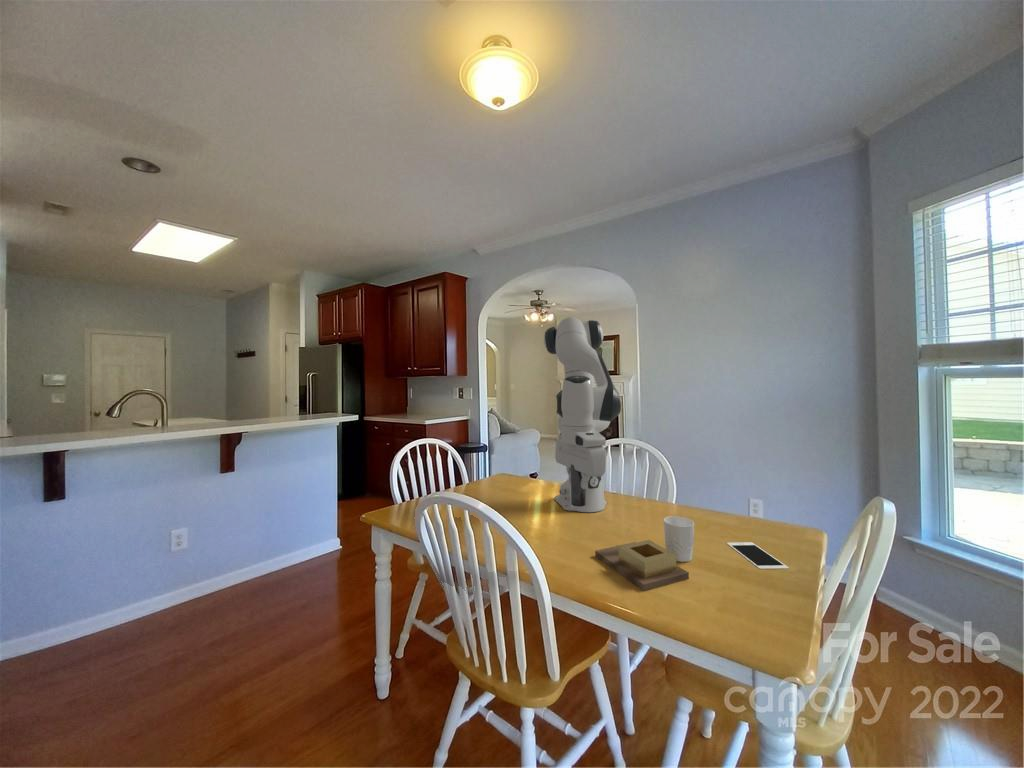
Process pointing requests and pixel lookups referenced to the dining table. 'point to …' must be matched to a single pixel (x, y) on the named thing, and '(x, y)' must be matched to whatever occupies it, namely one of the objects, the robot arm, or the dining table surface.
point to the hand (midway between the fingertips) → (578, 485)
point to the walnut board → (612, 559)
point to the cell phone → (757, 556)
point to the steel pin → (577, 489)
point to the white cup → (679, 537)
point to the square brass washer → (647, 559)
